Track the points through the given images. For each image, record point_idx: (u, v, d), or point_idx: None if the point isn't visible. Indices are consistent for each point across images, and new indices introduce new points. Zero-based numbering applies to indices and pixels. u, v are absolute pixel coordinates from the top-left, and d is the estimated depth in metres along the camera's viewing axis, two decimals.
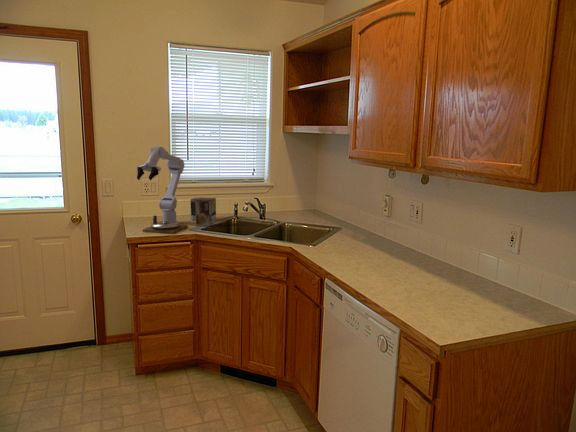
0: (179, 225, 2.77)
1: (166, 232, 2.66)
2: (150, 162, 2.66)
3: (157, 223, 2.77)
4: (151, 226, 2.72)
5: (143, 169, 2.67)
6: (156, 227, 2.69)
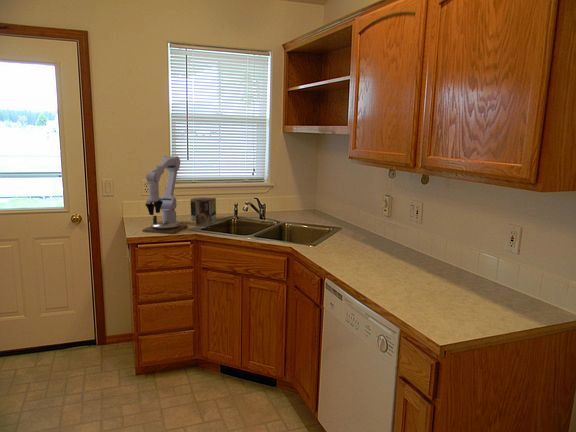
0: (179, 225, 2.77)
1: (166, 232, 2.66)
2: (149, 196, 2.74)
3: (157, 223, 2.77)
4: (151, 226, 2.72)
5: (156, 201, 2.78)
6: (156, 227, 2.69)
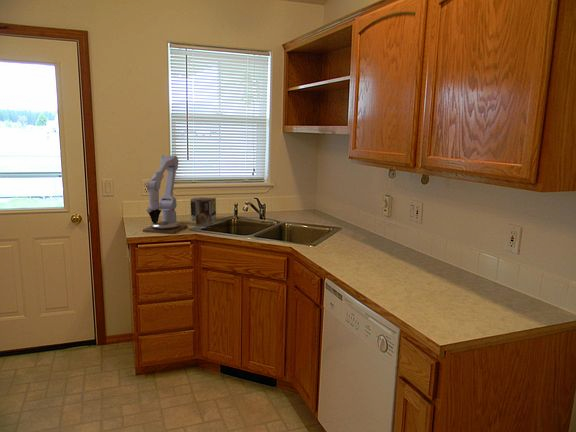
0: (179, 225, 2.77)
1: (166, 232, 2.66)
2: (149, 204, 2.75)
3: (157, 223, 2.77)
4: (151, 226, 2.72)
5: (156, 209, 2.79)
6: (156, 227, 2.69)
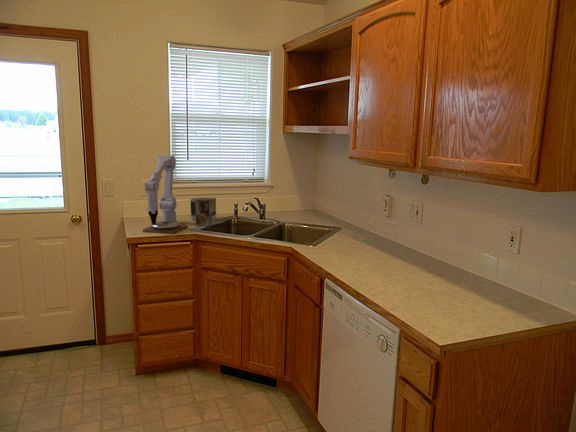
0: (179, 224, 2.79)
1: (166, 232, 2.66)
2: (148, 206, 2.70)
3: (156, 224, 2.75)
4: (153, 227, 2.70)
5: None
6: (161, 227, 2.68)
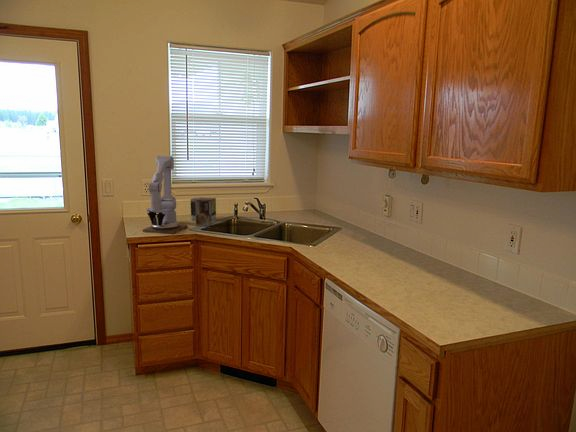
0: None
1: (166, 232, 2.66)
2: (154, 207, 2.66)
3: (158, 225, 2.72)
4: (161, 228, 2.68)
5: (152, 212, 2.71)
6: (170, 227, 2.70)
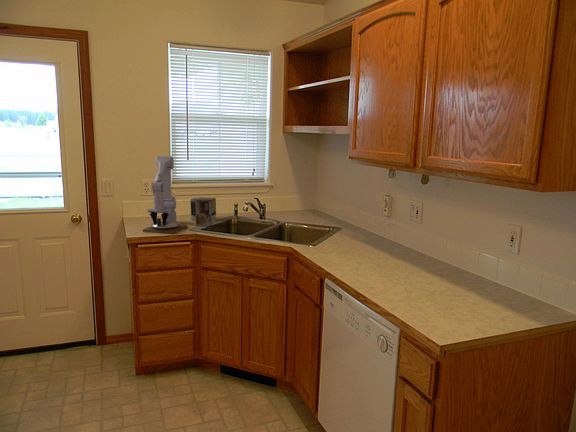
0: None
1: (166, 232, 2.66)
2: (158, 207, 2.65)
3: (162, 225, 2.71)
4: (168, 227, 2.69)
5: None
6: (176, 226, 2.73)
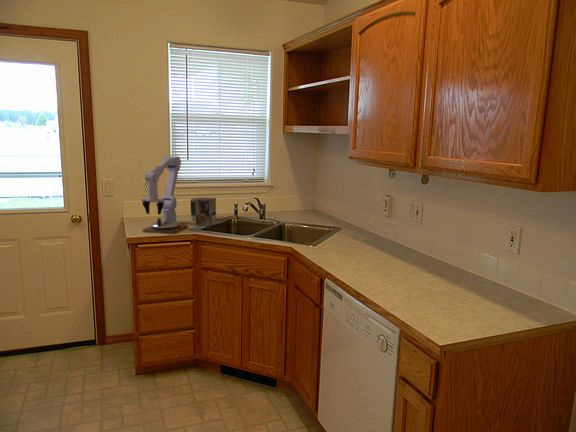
0: None
1: (166, 232, 2.66)
2: (152, 197, 2.72)
3: (162, 225, 2.71)
4: (168, 227, 2.69)
5: (148, 201, 2.76)
6: (176, 226, 2.73)
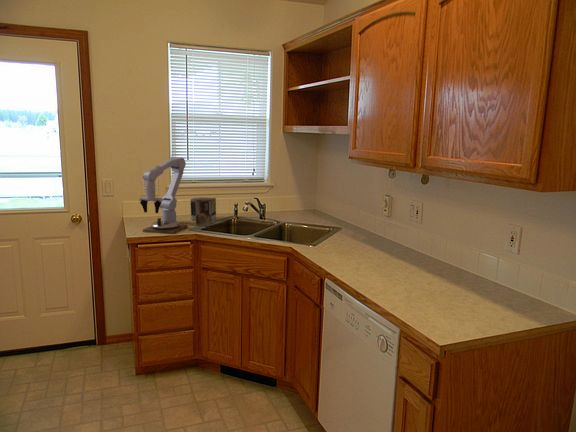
0: None
1: (166, 232, 2.66)
2: (150, 196, 2.76)
3: (162, 225, 2.71)
4: (168, 227, 2.69)
5: (146, 200, 2.80)
6: (176, 226, 2.73)
